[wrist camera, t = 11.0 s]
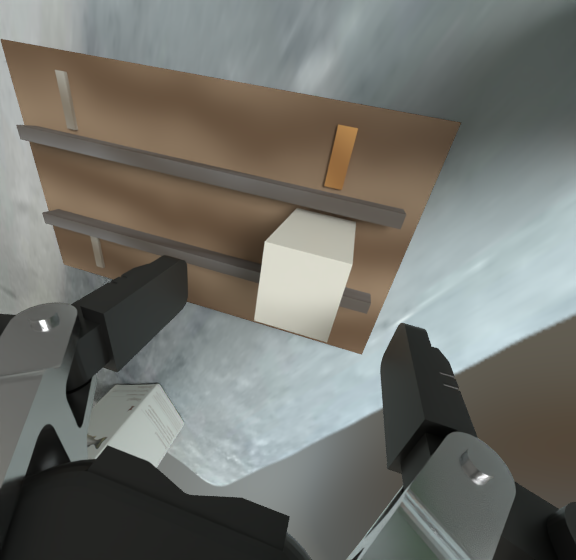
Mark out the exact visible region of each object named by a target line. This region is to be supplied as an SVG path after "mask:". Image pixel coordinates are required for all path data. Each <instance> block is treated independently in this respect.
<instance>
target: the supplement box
mask: <svg viewBox="0 0 576 560" xmlns="http://www.w3.org/2000/svg"><path fill="white" fill-rule="evenodd" d="M183 426H184V422H183V420H182V419H181V417H180V415H179V414H178V412H177V411H176V409H175V407H174V406H173V404H172V403H171V401H170V399H169V398H168V396H167V395H166V393H165V392H164V390H163V388H162V387H161V386H160V384H148V385H115V386H114V387H113V388H112V389H111V390H110V391H109V392H108V393H107V394H106V395H105V396H104V397H103V398H102V399H101V400H100V401H99V402H98V403H97V404H96V405H95V406H94V407H92V411H91V416H90V422H89V427H88V433H87V449H88V459H97V457H98V456H99V455H100V454H101V452H102V451H103V450H104V449H105V448H106V446H107V445H108V446H111V447H113V448H116V449H118V450H121V451H124V452H126V453H129V454H131V455H134V456H136V457H139V458H141V459H144V460H147V461H149V462H150V463H151V464H153V465H154V466H155V467H156V468H157V466H158V465H159V463H160V462H161V460H162V459H163V457H164V455H165V454H166V452H167V451H168V449H169V448H170V446H171V444H172V443H173V441H174V440H175V438H176V437H177V435H178V433H179V432H180V430H181V429H182V427H183Z"/></svg>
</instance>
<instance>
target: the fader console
mask: <svg viewBox="0 0 576 560" xmlns="http://www.w3.org/2000/svg"><path fill="white" fill-rule="evenodd" d="M1 43H2V46H3V50H4V53H5V57H6V61H7V64H8V68H9V71H10V75H11V78H12V82H13V85H14V89H15V93H16V96H17V100H18V103H19V107H20V110H21V114H22V117H23V121H24V124H25V125H17V129H18V132H19V135H20V139H22V140H26V141H29V142H30V146H31V149H32V153H33V156H34V160H35V163H36V167H37V171H38V174H39V178H40V181H41V185H42V188H43V192H44V195H45V199H46V203H47V206H48V210H49V211H47V212H43V217H44V220H45V223H46V224H50V225H53V227H54V231H55V234H56V238H57V242H58V245H59V249H60V252H61V256H62V259H63V263H64V264H65V265H68V266H71V267H75V268H78V269H81V270H84V271H88V272H91V273H94V274H98V275H101V276H104V277H108V278H111V279H115V278H117V277H121V275H122V274H124V273H126V272H127V271H129V270H131V269H132V268H135V267H138V266H142V265H145V264H150V263H151V262H153V261H155V260H156V259H158V258H159V257H161V256H163V255H168V256H171V257H175V258H178V259H182V260H185V261H186V263H187V274H188V298H187V302H190V303H193V304H197V305H200V306H203V307H207V308H210V309H213V310H217V311H220V312H223V313H226V314H230V315H233V316H236V317H240V318H243V319H246V320H250V321H253V322H256V323H260V324H263V325H266V326H269V327H273V328H276V329H279V330H283V331H286V332H289V333H293V334H296V335H299V336H302V337H306V338H309V339H312V340H316V341H319V342H322V343H326V344H329V345H332V346H335V347H339V348H342V349H345V350H349V351H352V352H355V353H359V354H362V353H363V350H364V348H365V346H366V343H367V341H368V339H369V336H370V334H371V332H372V329H373V327H374V325H375V322H376V320H377V318H378V315H379V313H380V311H381V308H382V306H383V304H384V301H385V299H386V297H387V294H388V292H389V290H390V287H391V285H392V283H393V280H394V278H395V276H396V273H397V271H398V269H399V266H400V264H401V262H402V259H403V257H404V255H405V252H406V250H407V248H408V245H409V243H410V241H411V238H412V236H413V234H414V231H415V229H416V227H417V224H418V222H419V220H420V217H421V215H422V213H423V210H424V208H425V206H426V203H427V201H428V199H429V196H430V194H431V192H432V189H433V187H434V185H435V182H436V180H437V178H438V175H439V173H440V171H441V169H442V166H443V164H444V162H445V159H446V157H447V155H448V152H449V150H450V148H451V145H452V143H453V141H454V138H455V136H456V134H457V131H458V129H459V127H460V124H461V122H455V121H450V120H444V119H439V118H433V117H428V116H422V115H417V114H411V113H406V112H400V111H395V110H389V109H384V108H378V107H373V106H367V105H362V104H356V103H351V102H345V101H339V100H334V99H328V98H323V97H317V96H312V95H306V94H301V93H295V92H290V91H284V90H279V89H273V88H268V87H262V86H257V85H251V84H246V83H240V82H235V81H229V80H224V79H218V78H213V77H207V76H202V75H196V74H191V73H185V72H180V71H174V70H169V69H163V68H158V67H152V66H147V65H141V64H136V63H130V62H125V61H119V60H114V59H108V58H103V57H97V56H92V55H86V54H81V53H75V52H69V51H64V50H58V49H53V48H47V47H42V46H36V45H31V44H25V43H20V42H14V41H9V40H3V39H1ZM296 208H300V209H304V210H308V211H312V212H316V213H320V214H325V215H329V216H333V217H337V218H341V219H345V220H350V221H354V222H356V229H355V241H354V253H353V265H352V268H351V271H350V274H349V277H348V280H347V283H346V286H345V289H344V292H343V295H342V298H341V301H340V304H339V307H338V310H337V314H336V317H335V320H334V323H333V326H332V329H331V332H330V335H329V338H328V341H327V342H324V341H320V340H317V339H314V338H310V337H307V336H304V335H300V334H297V333H294V332H290V331H287V330H284V329H280V328H277V327H274V326H271V325H267V324H264V323H261V322H257V321H254V317H255V310H256V303H257V295H258V288H259V281H260V273H261V266H262V258H263V251H264V244H265V241H266V240H267V239H268V238H269V237H270V236H271V235H272V234H273V233H274V231H275V230H276V229H277V228H278V227H279V226H280V225H281V224H282V223H283V222H284V221H285V220H286V219H287V218H288V217H289V216H290V215H291V214H292V213H293V212H294V211H295V210H296Z"/></svg>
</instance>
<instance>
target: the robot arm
mask: <svg viewBox="0 0 576 560" xmlns="http://www.w3.org/2000/svg"><path fill="white" fill-rule="evenodd" d="M187 298H188V274H187V263H186V261H185V260H182V259H178V258H175V257H171V256H168V255H163V256H161V257H159V258H158V259H156V260H155V261H153V262H151V263H150V264H145V265H142V266H138V267H135V268H132V269H131V270H129V271H127V272H126V273H124V274H122V275H121V277H117V278H115V279H114V280H112V281H111V283H107V284H105V285H104V286H102V287H100V288H98V289H97V290H95V291H93V292H92V293H90V294H88V295H87V296H85V297H83V298H81V299H80V300H78V301H76V302H75V303H73V304H71V305H70V304H66V303H46V304H41V305H37V306H34V307H31V308H28V309H26V310H24V311H22V312H20V313H18V314H17V315H8V314H0V560H312V559H311V557H310V556H309V555H308V553H307V552H306V550H305V549H304V548H303V547H302V546H301V545H300V544H299V543H298V542H297V541H296V540H295V539H294V538H293V537H292V536H291V535H290V534H288V533H287V527H288V522H289V516H287V515H284V514H282V513H279V512H277V511H274V510H272V509H269V508H267V507H264V506H261V505H259V504H256V503H254V502H251V501H249V500H246V499H243V498H237V497H236V498H235V497H218V496H198V495H189V494H186V493H184V492H183V491H182V490H181V489H179V488H178V487H177V486H176V485H175V484H174V483H173V482H172V481H170V480H169V479H168V478H167V477H166V476H165V475H164V474H163V473H161V472H160V471H159V470H158V469H157V468H156V467H155V466H154V465H153V464H151V463H150V462H149V461H147V460H144V459H141V458H139V457H136V456H134V455H131V454H129V453H126V452H124V451H121V450H118V449H116V448H113V447H111V446H108V445H107V446H106V448H105V449H104V450H103V451H102V452H101V454H100V455H99V456H98V457H97V459H88V449H87V433H88V427H89V422H90V416H91V411H92V405H93V400H94V394H95V389H96V383H97V376H96V373H97V372H98V371H99V370H100V369H102V368H103V367H104V368H106V369H109V370H112V371H115V372H118V371H120V370H121V369H122V368H123V367H124V366H125V365H126V364H127V363H128V362H129V361H130V360H131V359H132V358H133V357H134V356H135V355H136V354H137V353H138V352H139V351H140V350H141V349H142V348H143V347H144V346H145V345H146V344H147V343H148V342H149V341H150V340H151V339H152V338H153V337H154V336H155V335H156V334H157V333H158V332H159V331H160V330H162V329H163V328H164V327H165V326H166V325H167V324H168V323H169V322H170V321H171V320H172V319H173V318H174V317H175V316H176V315H177V314H178V313H179V312H180V311H181V310H182V309H183V307H184V306H185V304H186V302H187ZM380 373H381V386H382V400H383V414H384V428H385V441H386V454H387V468H388V469H389V470H392V471H395V472H398V473H401V474H402V479H403V487H402V488H401V489H400V490H399V491H398V493H397V494H396V495H395V497H394V498H393V499H392V501H391V502H390V504H389V505H388V506H387V507H386V509H385V510H384V511H383V513H382V514H381V515H380V517H379V518H378V519H377V521H376V522H375V523H374V525H373V526H372V527H371V529H370V530H369V531H368V533H367V534H366V535H365V537H364V538H363V539H362V540H361V542H360V543H359V544H358V546H357V547H356V548H355V549H354V551H353V552H352V553H351V554H350V556H349V557H348V558H347V559H346V560H576V502H572V503H570V504H568V505H566V506H564V507H563V508H561V509H558V508H556V507H555V506H553V505H552V504H550V503H548V502H547V501H545V500H543V499H542V498H540V497H539V496H537V495H535V494H534V493H532V492H530V491H529V490H527V489H526V488H524V487H522V486H521V485H519V484H518V483H516V482H515V481H514V480H513V477H512V475H511V473H510V471H509V469H508V467H507V466H506V464H505V463H504V462H503V460H502V459H501V458H500V457H499V456H498V454H497V453H496V452H495V451H494V450H493V449H491V448H490V447H489V446H488V445H486V444H485V443H484V442H483V441H481V440H480V439H478V438H477V435H476V432H475V430H474V427H473V424H472V422H471V419H470V416H469V414H468V411H467V408H466V406H465V403H464V400H463V398H462V395H461V392H460V391H458V389H459V387H458V384H457V382H456V379H454V374H453V371H452V368H451V366H450V363H449V361H448V360H447V359H446V358H445V356H444V355H443V354H442V353H441V351H440V350H439V349H438V348H434V347H431V344H430V341H429V337H428V334H427V332H426V330H425V329H422V328H419V327H415V326H412V325H408V324H405V323H401V324H400V325H399V326H398V327H397V329H396V331H395V333H394V335H393V337H392V339H391V341H390V343H389V345H388V347H387V349H386V351H385V353H384V355H383V358H382V362H381V369H380Z"/></svg>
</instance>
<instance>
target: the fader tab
mask: <svg viewBox="0 0 576 560" xmlns="http://www.w3.org/2000/svg"><path fill="white" fill-rule="evenodd" d="M355 229H356V222H354V221H350V220H345V219H341V218H337V217H333V216H329V215H325V214H320V213H316V212H312V211H308V210H304V209H300V208H296V210H295V211H294V212H293V213H292V214H291V215H290V216H289V217H288V218H287V219H286V220H285V221H284V222H283V223H282V224H281V225H280V226H279V227H278V228H277V229H276V230H275V231H274V233H273V234H272V235H271V236H270V237H269V238H268V239H267V240H266V241H265V244H264V251H263V258H262V266H261V273H260V281H259V288H258V295H257V303H256V310H255V317H254V321H257V322H261V323H264V324H267V325H271V326H274V327H277V328H280V329H284V330H287V331H290V332H294V333H297V334H300V335H304V336H307V337H310V338H314V339H317V340H320V341H324V342H327V341H328V338H329V335H330V332H331V329H332V326H333V323H334V320H335V317H336V314H337V310H338V307H339V304H340V301H341V298H342V295H343V292H344V289H345V286H346V283H347V280H348V277H349V274H350V271H351V268H352V265H353V253H354V241H355Z"/></svg>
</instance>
